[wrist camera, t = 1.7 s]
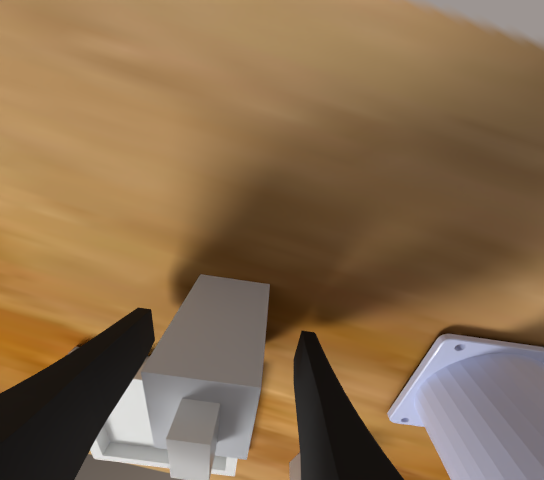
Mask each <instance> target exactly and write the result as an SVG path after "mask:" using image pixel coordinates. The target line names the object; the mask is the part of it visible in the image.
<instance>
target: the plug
mask: <svg viewBox="0 0 544 480" xmlns="http://www.w3.org/2000/svg"><path fill="white" fill-rule="evenodd" d="M269 290H270V284H265V283H258V282H251V281H244V280H237V279H230V278H223V277H217V276H210V275H203V274H200V276H199V277H198V279H197V281H196V282H195V284H194V285H193V287H192V289H191V290H190V292H189V294H188V295H187V297H186V298H185V300H184V302H183V303H182V305H181V307H180V308H179V310H178V312H177V313H176V315H175V316H174V318H173V320H172V321H171V323H170V325H169V326H168V328H167V329H166V331H165V333H164V334H163V336H162V338H161V339H160V341H159V342H158V344H157V346H156V347H155V349H154V351H153V352H152V354H151V355H150V357H149V359H148V360H147V362H146V364H145V365H144V367H143V369H142V370H141V377H142V382H143V388H144V393H145V399H146V404H147V410H148V415H149V421H150V427H151V432H152V438H153V443H154V448H159V449H167V452H168V460H169V467H170V475H171V478H178V479H185V480H210V475H211V470H212V466H213V461H214V456H222V457H230V458H238V459H246V460H247V456H248V451H249V446H250V441H251V436H252V431H253V426H254V421H255V416H256V411H257V406H258V401H259V396H260V391H261V385H262V373H263V361H264V349H265V338H266V326H267V314H268V302H269Z"/></svg>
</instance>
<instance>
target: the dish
mask: <svg viewBox="0 0 544 480" xmlns="http://www.w3.org/2000/svg"><path fill="white" fill-rule="evenodd" d="M78 348H79V347H75V348H73V349H72V350H71V351H70V352H69V353H68V354H70V353H71V352H73V351H74V350H76V349H78ZM68 354H67V355H68ZM148 359H149V356H147V357H146V359H145V361H144V363H143V364H142V366H141V368H140V369H139V371H138V372H137V374H136V375H135V377H134V379H133V380H132V382H131V383H130V385H129V386H128V388H127V389H126V391H125V393H124V394H123V396H122V397H121V399H120V400H119V402H118V403H117V405H116V407H115V408H114V410H113V411H112V413H111V414H110V416H109V417H108V419H107V421H106V422H105V424H104V426H103V427H102V429H101V431H100V432H99V434H98V436H97V438H96V440H95V442H94V443H93V445H92V447H91V449H90V451H91V453H92V455H93V457H94V459H99V460H107V461H115V462H123V463H131V464H139V465H147V466H155V467H163V468H170V467H169V460H168V452H167V449H159V448H154V443H153V438H152V432H151V427H150V421H149V415H148V410H147V404H146V399H145V393H144V388H143V382H142V377H141V370H142V369H143V367H144V365H145V364H146V362H147V360H148ZM236 464H237V458H230V457H222V456H214V461H213V466H212V470H211V474H219V475H227V476H235V470H236Z"/></svg>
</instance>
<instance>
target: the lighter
mask: <svg viewBox="0 0 544 480" xmlns="http://www.w3.org/2000/svg"><path fill="white" fill-rule="evenodd" d="M289 468H290V480H301V461H300V453H299V454H298V455H297V456H296V457H295V458H294V459H293V460H292V461H291V462H290V463H289Z"/></svg>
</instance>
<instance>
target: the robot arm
mask: <svg viewBox="0 0 544 480" xmlns="http://www.w3.org/2000/svg"><path fill="white" fill-rule="evenodd" d="M154 341H155V337H154V329H153V321H152V313H151V309H144V308H137V309H135V310H134V311H132V312H131V313H129V314H128V315H127V316H125V317H124V318H122V319H121V320H119V321H118V322H116V323H115V324H113V325H112V326H111V327H109V328H108V329H106V330H105V331H103V332H102V333H100V334H99V335H97V336H96V337H94V338H93V339H91V340H90V341H88V342H87V343H85V344H84V345H82V346H81V347H79V348H78V349H76V350H74V351H73V352H71V353H70V354H68V355H66V356H65V357H63V358H62V359H60V360H58V361H57V362H55V363H54V364H52V365H50V366H49V367H47V368H45V369H44V370H42V371H40V372H38V373H37V374H35V375H33V376H31V377H30V378H28V379H26V380H24V381H22V382H21V383H19V384H17V385H15V386H13V387H12V388H10V389H8V390H6V391H4V392H2V393H0V480H74V479H75V477H76V475H77V473H78V471H79V470H80V468H81V466H82V464H83V462H84V460H85V458H86V456H87V455H88V453H89V451H90V449H91V447H92V445H93V443H94V442H95V440H96V438H97V436H98V434H99V432H100V431H101V429H102V427H103V426H104V424H105V422H106V421H107V419H108V417H109V416H110V414H111V413H112V411H113V410H114V408H115V407H116V405H117V403H118V402H119V400H120V399H121V397H122V396H123V394H124V393H125V391H126V389H127V388H128V386H129V385H130V383H131V382H132V380H133V379H134V377H135V375H136V374H137V372H138V371H139V369H140V368H141V366H142V364H143V363H144V361H145V359H146V357H147V355H148V353H149V351H150V349H151V347H152V345H153V343H154ZM294 391H295V402H296V412H297V422H298V432H299V443H300V461H301V480H404V479H403V478H402V476H401V475H400V474H399V472H398V471H397V470H396V468H395V467H394V466H393V464H392V463H391V462H390V460H389V459H388V458H387V456H386V455H385V454H384V452H383V451H382V449H381V448H380V446H379V445H378V444H377V442H376V441H375V439H374V438H373V436H372V435H371V433H370V432H369V430H368V429H367V427H366V426H365V424H364V423H363V421H362V420H361V418H360V417H359V415H358V413H357V412H356V410H355V409H354V407H353V405H352V404H351V402H350V400H349V399H348V397H347V395H346V393H345V392H344V390H343V388H342V386H341V385H340V383H339V381H338V379H337V377H336V375H335V373H334V371H333V370H332V368H331V366H330V364H329V362H328V360H327V358H326V356H325V353H324V351H323V349H322V347H321V345H320V343H319V340H318V338H317V336H316V334H315V333H314V332H308V331H302V332H301V335H300V339H299V342H298V346H297V349H296V353H295V356H294ZM387 414H388V417H389V419H390V421H392V422H394V423H400V424H407V425H415V426H422V427H425V428H426V430H427V432H428V434H429V436H430V438H431V440H432V442H433V444H434V446H435V448H436V450H437V452H438V454H439V456H440V458H441V460H442V462H443V464H444V466H445V468H446V470H447V472H448V475H449V477H450V479H451V480H544V347H539V346H532V345H525V344H518V343H511V342H504V341H497V340H490V339H483V338H476V337H469V336H462V335H455V334H443V335H441V336H439V337H438V338H437V340H436V341H435V343H434V344H433V346H432V347H431V349H430V350H429V351H428V353H427V354H426V356H425V357H424V359H423V360H422V362H421V363H420V365H419V366H418V368H417V369H416V371H415V372H414V374H413V375H412V377H411V378H410V380H409V381H408V383H407V384H406V386H405V387H404V389H403V390H402V392H401V393H400V395H399V396H398V398H397V399H396V401H395V402H394V404H393V405H392V407H391V408H390V410H389V411H388V413H387Z"/></svg>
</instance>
